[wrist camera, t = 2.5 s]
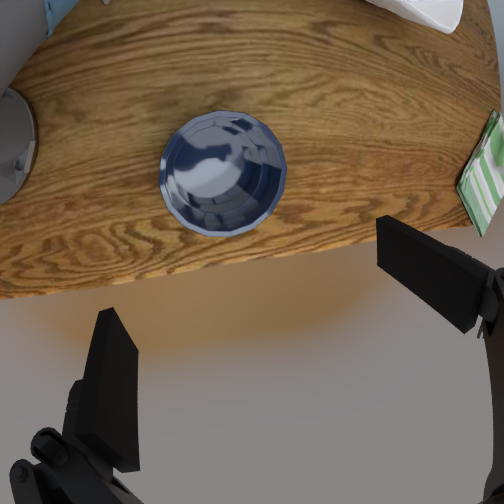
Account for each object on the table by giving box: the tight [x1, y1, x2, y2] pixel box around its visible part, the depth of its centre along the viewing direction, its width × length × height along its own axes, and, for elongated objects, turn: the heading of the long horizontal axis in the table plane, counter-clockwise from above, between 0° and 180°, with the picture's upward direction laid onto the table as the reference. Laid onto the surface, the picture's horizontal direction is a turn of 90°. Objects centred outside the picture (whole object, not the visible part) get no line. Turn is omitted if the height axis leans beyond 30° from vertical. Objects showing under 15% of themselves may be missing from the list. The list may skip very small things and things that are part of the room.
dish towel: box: [456, 110, 504, 237], centre depth 46 cm, size 18×23×3 cm
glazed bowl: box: [159, 110, 287, 237], centre depth 30 cm, size 12×12×8 cm
